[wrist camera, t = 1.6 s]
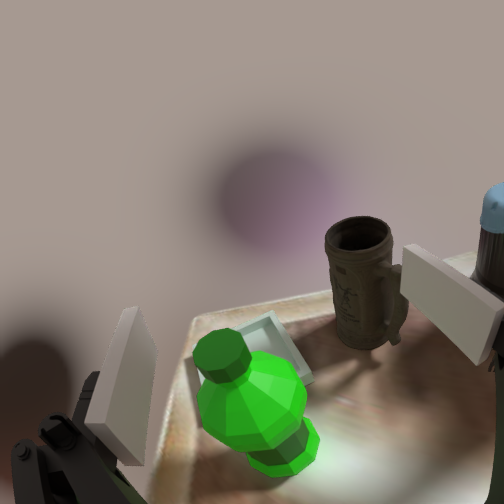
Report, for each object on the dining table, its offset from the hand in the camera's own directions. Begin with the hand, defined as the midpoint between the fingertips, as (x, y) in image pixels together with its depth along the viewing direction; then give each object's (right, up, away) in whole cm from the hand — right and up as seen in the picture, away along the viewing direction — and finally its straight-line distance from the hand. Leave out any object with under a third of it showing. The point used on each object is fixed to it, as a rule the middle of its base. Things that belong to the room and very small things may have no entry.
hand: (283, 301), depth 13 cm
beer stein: (+20, -12, +33) cm, 41 cm away
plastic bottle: (+3, -26, +20) cm, 33 cm away
